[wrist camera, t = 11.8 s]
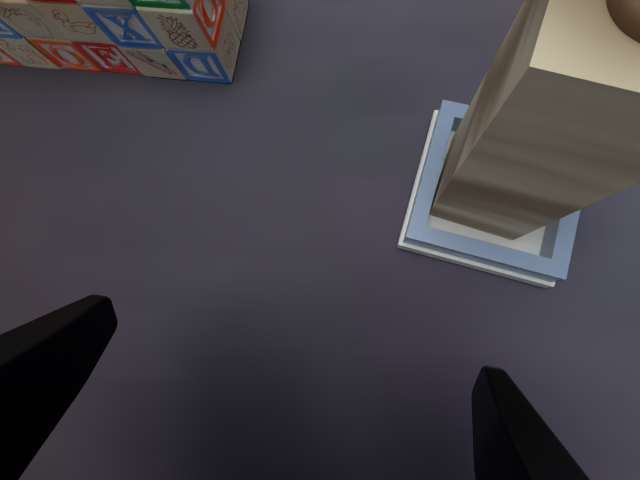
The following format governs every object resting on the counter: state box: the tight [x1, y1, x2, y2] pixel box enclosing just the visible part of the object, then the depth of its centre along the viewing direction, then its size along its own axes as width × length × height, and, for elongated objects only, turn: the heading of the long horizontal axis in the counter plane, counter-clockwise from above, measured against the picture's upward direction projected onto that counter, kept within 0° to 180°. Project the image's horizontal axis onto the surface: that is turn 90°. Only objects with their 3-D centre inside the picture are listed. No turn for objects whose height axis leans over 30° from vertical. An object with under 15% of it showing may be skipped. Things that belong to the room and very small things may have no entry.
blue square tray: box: [397, 100, 581, 288], centre depth 20 cm, size 8×8×2 cm
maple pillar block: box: [429, 0, 640, 241], centre depth 14 cm, size 4×4×14 cm
